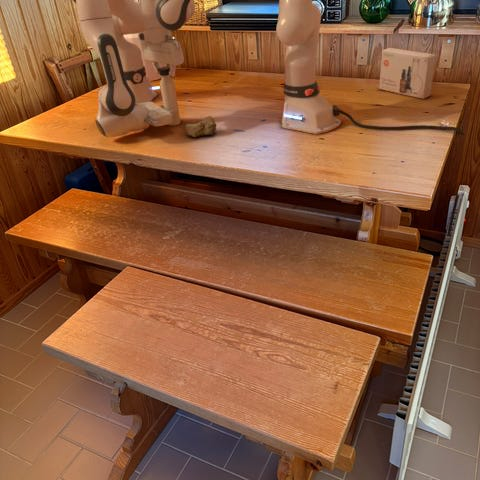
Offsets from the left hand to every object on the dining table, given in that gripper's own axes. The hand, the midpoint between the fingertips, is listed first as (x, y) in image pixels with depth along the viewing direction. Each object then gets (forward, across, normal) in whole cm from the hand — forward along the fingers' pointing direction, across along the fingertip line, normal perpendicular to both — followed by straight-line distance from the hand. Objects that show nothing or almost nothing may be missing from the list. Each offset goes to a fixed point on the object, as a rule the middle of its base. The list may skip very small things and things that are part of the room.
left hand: (173, 108), depth 179 cm
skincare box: (+86, -38, +6) cm, 94 cm away
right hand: (-1, 0, -13) cm, 13 cm away
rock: (+2, -18, +6) cm, 19 cm away
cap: (-1, 0, -15) cm, 15 cm away
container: (+19, +74, +6) cm, 76 cm away
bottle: (-1, 0, +6) cm, 6 cm away
